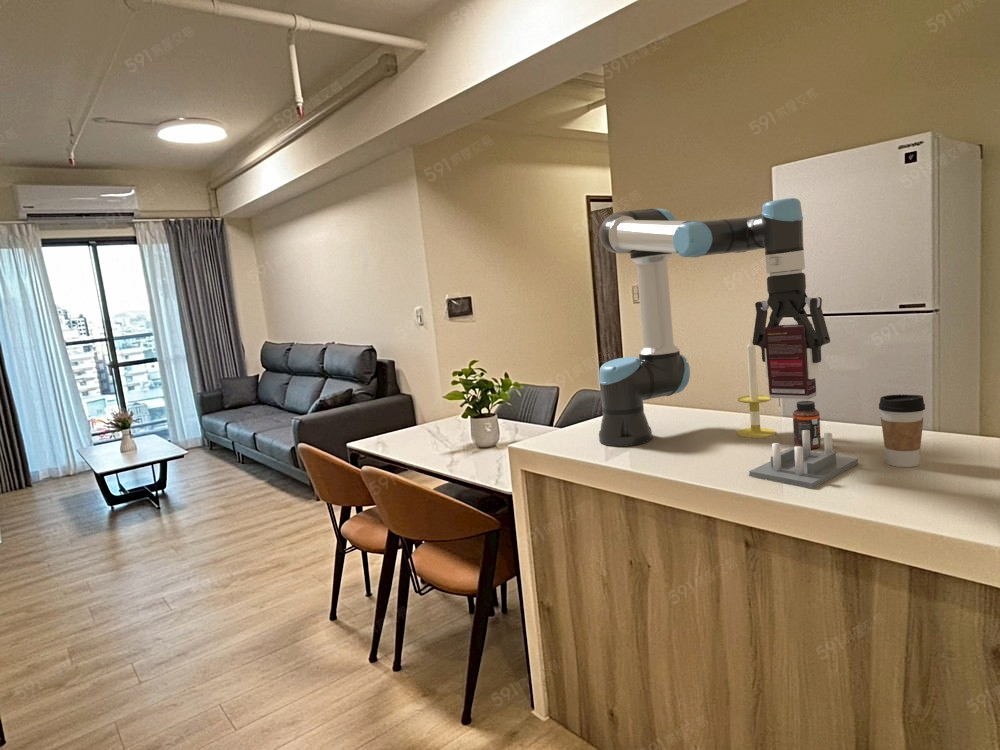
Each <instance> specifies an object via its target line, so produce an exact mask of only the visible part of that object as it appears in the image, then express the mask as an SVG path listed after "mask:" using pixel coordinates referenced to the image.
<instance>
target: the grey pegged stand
mask: <svg viewBox="0 0 1000 750" xmlns="http://www.w3.org/2000/svg"><path fill="white" fill-rule="evenodd" d="M802 441H803V447H801V446H795V445H793V446H791V447H790V448H789V447H788V448H787V449H785V450H783V451H781V443H779V442H774V443H772V444H771V449H772V455H771V456H770V461H769V462H766V463H764V464H761V465H760V466H758V467H755V468H753V469H751V470H748V471H749V472H748V473H749V474H748V475H749V477H750V476H751V477H752V478H755V477H756V479H760V478H761V480H765V479H767V480H766V481H770V480H772V482H775V481H776V483H782V484H784V485H785V484H786V485H791V486H796V487H800V488H805V489H812V490H813V489H815V488H817V487H819V486H820V485H822V484H824V483H825V482H828V481H829V480H831V479H833V478H835V477H836V476H838V475H840V474H842V473H843V472H845V471H847V470H849V469H851V468H853V467H854V466H855V467H856V465H858V464H859V459H858V458H857V457H851V456H850V457H849V456H845V455H837V452H836V451H834V450H833V449H834V447H833V432H824V433H823V441H824V444H823V445H824V446H823V447H824V453H823V452H818V451H811V450H812V449H811V447H810V431H809V430H802ZM751 477H750V478H751Z"/></svg>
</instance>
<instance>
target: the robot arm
mask: <svg viewBox="0 0 1000 750" xmlns="http://www.w3.org/2000/svg"><path fill="white" fill-rule="evenodd" d="M803 220H804V217H803V211H802V203H801V201H800V200H799V199H798V198H795V197H792V198H791V197H790V198H789V197H788V198H780V199H777V200H772V201H767V202H765V203H763V205H762V211H761V213H760V214H756V215H752V216H745V217H735V218H734V217H733V218H725V219H724V218H723V219H716V220H715V219H712V220H677V219H676V216H675V215H674V214H672V212H671V211H670V210H668V209H665V208H649V209H648V208H646V209H636V210H623V211H617V212H613V213H611V214H610V215H609V216H607V217H606V218H605V219H604V220H603V221H602V223H601V225H600V227H599V233H598V234H599V235H598V236H599V241H600V244H601V245H602V246H603V248H605V249H606V250H607V251H609V252H610V253H614V254H621V255H622V254H629V255H630V261H631V262H632V263H634V264H635V265H636V275H637V283H638V284H637V285H638V297H639V306H640V307H639V309H640V311H639V312H640V319H641V320H640V321H641V331H642V334H641V335H642V342H643V344H642V346H643V347H642V349H641V350H639V352H638V357H637V356H625V357H619V358H615V359H611V360H608V361H606V362H604V363H603V364H602V365H601V366H600V368H599V379H598V382H599V386H600V395H601V396H600V397H601V407H602V419H601V424H600V430H599V432H598V441H599V443H601V444H603V445H607V446H612V447H628V446H636V445H641V444H645V443H648V442H649V441H651V440H652V439H653V433H652V432H653V431H652V428H651V427H650V426H649V422H648V419H647V417H646V414H645V411H644V410H645V409H644V401H646V400H651V399H656V398H661V397H670V396H673V395H676V394H679V393H681V392H682V391H683V390H685V389H686V387H687V385H688V383H689V381H690V377H691V367H690V363H689V362H688V359H687V357H686V356H684V355H682V354H681V350H680V348H679V347H678V346H676V345H675V344H674V334H673V333H674V332H673V331H674V330H673V321H672V306H671V296H670V295H671V294H670V283H669V282H670V281H669V267H668V261H669V259H670V258H671V257H672V256H673V254H678V255H679V256H680V257H681V258H682V257H683V258H699V257H705V256H712V255H713V256H714V255H722V254H732V253H733V254H734V253H737V254H738V253H740V254H741V253H746V252H749V251H755V250H761V249H764V255H765V269H766V274H768V275H769V276H767V278H766V285H767V286H766V288H767V289H766V290H767V293H768V298H767V300H760V301H756V302H755V303H754V305H755V311H756V312H755V313H756V314H755V315H756V316H755V322H754V329H753V337H752V342H753V345H755V346H757V347H760V349H761V360H762V362H763V363H765V377H766V378H768V369H767V356H766V342H765V329H764V328H765V327H771V326H777V325H781V324H780V323H781V321H782V320H783V319H784V318H785V317H787V318H793V320H794V321H796V324H798V325H799V326H802V325H804V326H805V335H806V339H807V341H808V343H809V345H810V347H809V348H807V365H808V379H814V378H815V379H818V378H819V363H821V361H822V346H824V345H827V344H829V343H830V342H831V339H830V335H829V334H830V333H829V331H828V328H827V324H826V320H825V316H824V313H823V310H822V303H823V299H822V297H819V296H817V297H808V295H807V293H806V289H807V283H806V281H807V279H806V273H805V272H803V271H804V270H805V269H806V265H805V264H806V263H805V251H804V250H805V249H804V229H803V228H804V226H803V225H804V222H803ZM806 305H807V307H808V308H809V313H810V314H809V315H810V318H811V321H812V323H811V321H810V319H809V318H808V314H807V311H806V310H805V307H806ZM769 308H770V309H771V313H770V315H769V321H768V320H767V319H768V309H769ZM767 321H768V323H767ZM766 324H767V325H766ZM811 324H812V325H811Z"/></svg>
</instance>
